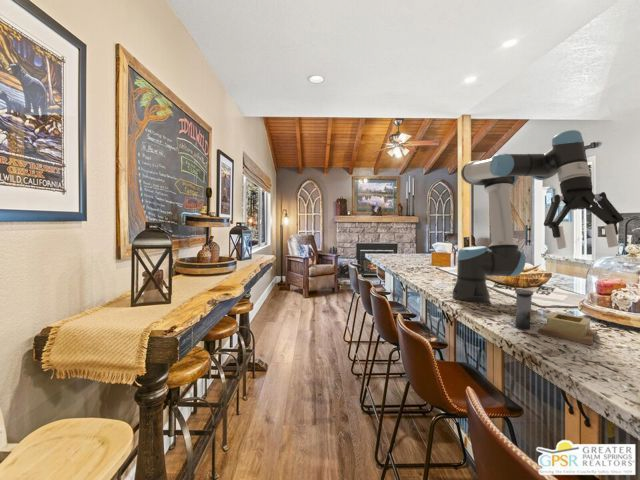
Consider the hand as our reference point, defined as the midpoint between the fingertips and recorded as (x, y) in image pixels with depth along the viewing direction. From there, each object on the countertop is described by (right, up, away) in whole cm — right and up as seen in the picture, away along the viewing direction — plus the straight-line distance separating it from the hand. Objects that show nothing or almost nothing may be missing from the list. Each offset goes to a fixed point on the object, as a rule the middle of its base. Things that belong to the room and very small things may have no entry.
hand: (587, 247), depth 91 cm
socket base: (-4, -26, +2) cm, 27 cm away
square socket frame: (-4, -25, +2) cm, 25 cm away
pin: (-14, -26, +8) cm, 30 cm away
